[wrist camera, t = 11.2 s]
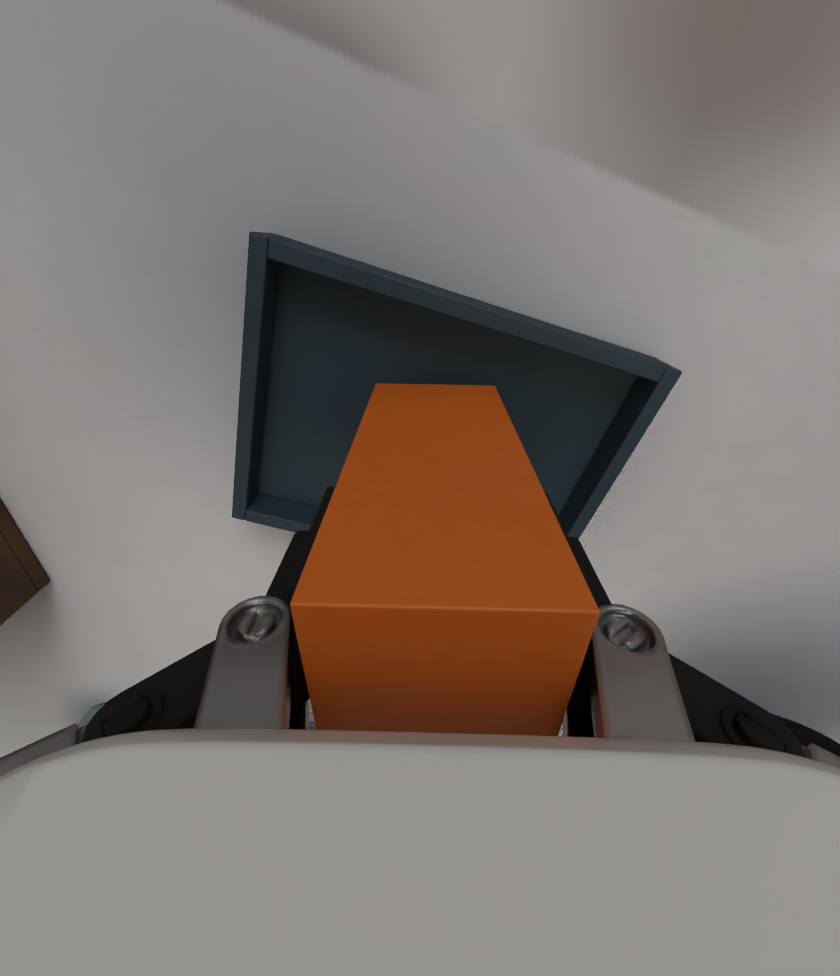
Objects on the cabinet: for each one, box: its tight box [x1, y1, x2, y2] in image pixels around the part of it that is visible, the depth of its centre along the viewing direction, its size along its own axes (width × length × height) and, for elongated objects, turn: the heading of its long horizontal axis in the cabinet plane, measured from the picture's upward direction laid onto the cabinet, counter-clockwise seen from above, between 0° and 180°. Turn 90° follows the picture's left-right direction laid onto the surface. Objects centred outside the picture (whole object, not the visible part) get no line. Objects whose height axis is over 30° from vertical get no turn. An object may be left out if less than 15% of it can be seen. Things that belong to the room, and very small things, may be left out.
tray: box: [232, 232, 682, 539], centre depth 17 cm, size 15×11×2 cm
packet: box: [290, 383, 599, 736], centre depth 12 cm, size 6×4×11 cm
